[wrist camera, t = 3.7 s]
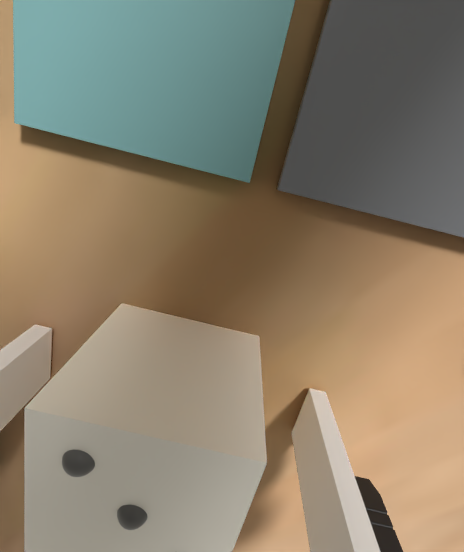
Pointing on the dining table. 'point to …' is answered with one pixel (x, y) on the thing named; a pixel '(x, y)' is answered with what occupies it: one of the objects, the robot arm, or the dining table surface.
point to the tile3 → (385, 113)
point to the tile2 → (152, 75)
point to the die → (146, 439)
